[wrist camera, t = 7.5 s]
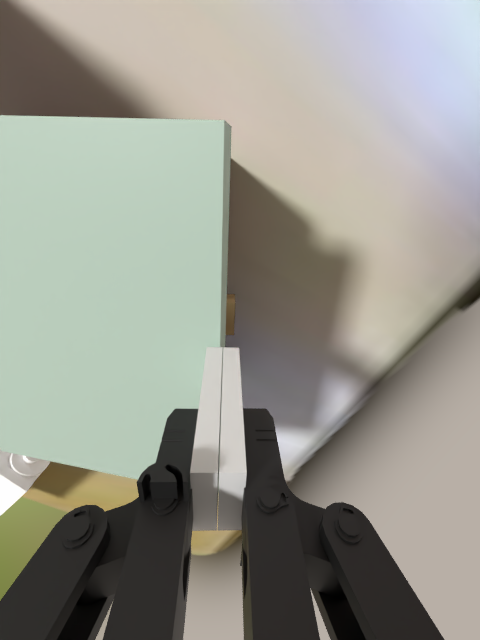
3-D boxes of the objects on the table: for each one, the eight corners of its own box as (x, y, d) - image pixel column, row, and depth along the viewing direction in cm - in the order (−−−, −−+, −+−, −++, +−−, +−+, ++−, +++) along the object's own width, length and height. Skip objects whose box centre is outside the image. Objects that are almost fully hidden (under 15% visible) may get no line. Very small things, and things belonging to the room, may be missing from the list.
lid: (-117, 117, 13) (-154, 111, 12) (231, 126, 11) (224, 120, 10) (15, 438, 22) (1, 450, 21) (221, 479, 20) (217, 496, 19)
